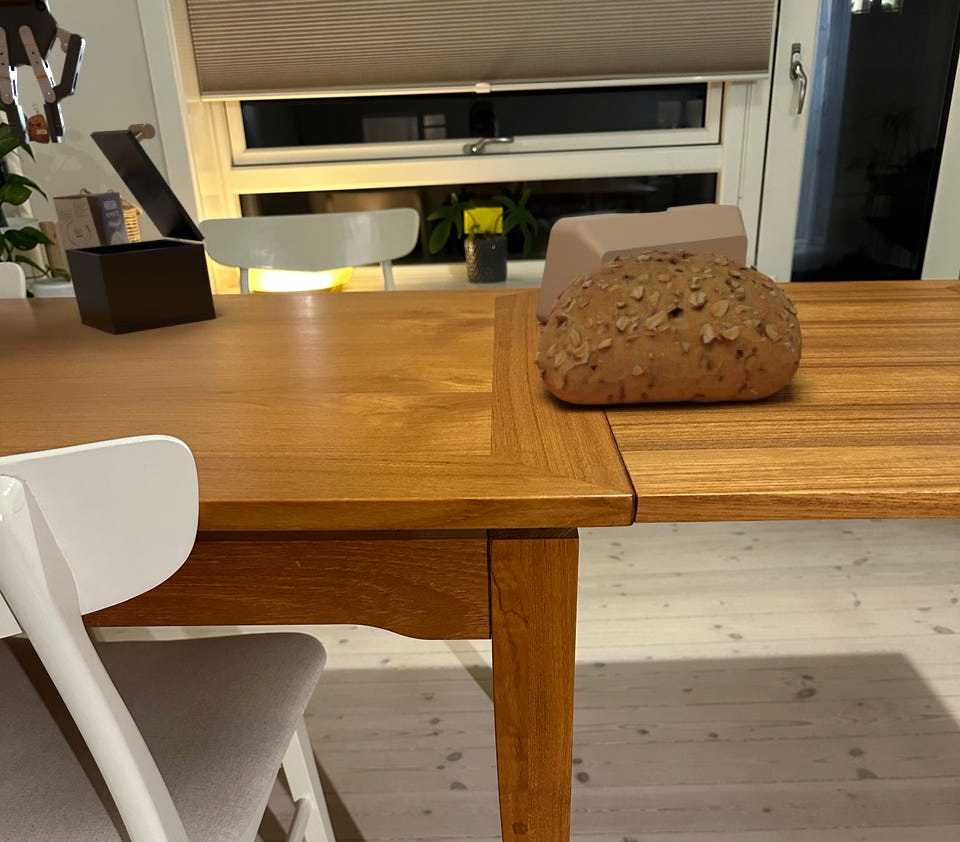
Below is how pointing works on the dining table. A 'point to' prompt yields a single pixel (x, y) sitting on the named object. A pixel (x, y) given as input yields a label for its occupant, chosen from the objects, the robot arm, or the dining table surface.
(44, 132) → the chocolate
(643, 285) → the bread
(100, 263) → the open black box
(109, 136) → the lid
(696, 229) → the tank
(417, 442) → the dining table surface
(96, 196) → the coffee box
